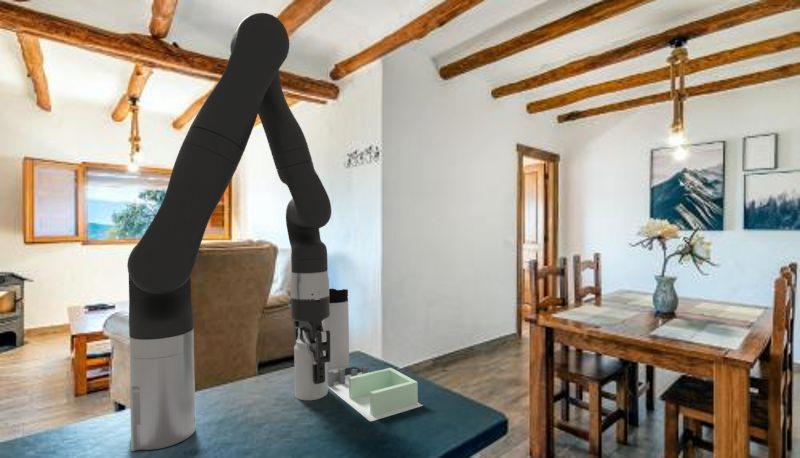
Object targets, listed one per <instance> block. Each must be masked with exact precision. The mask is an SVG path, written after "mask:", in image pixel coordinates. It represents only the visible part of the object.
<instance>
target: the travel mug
mask: <svg viewBox="0 0 800 458" xmlns="http://www.w3.org/2000/svg"><path fill="white" fill-rule="evenodd" d="M329 302H330V315H329V317H328V318H326V319H324V320H323V321H322V326H323V329H324V331H327V330H329V331H330V362H327V371H329V370H334V369H337V370H339V368H344V369H345V370H347V369H348V370H349V369H350V336H349V335H350V332H349V331H350V329H349V328H350V327H349V326H350V325H349V321H350V320H349V317H350V316H349V289H347V288H342V289H336V288H329Z"/></svg>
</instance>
